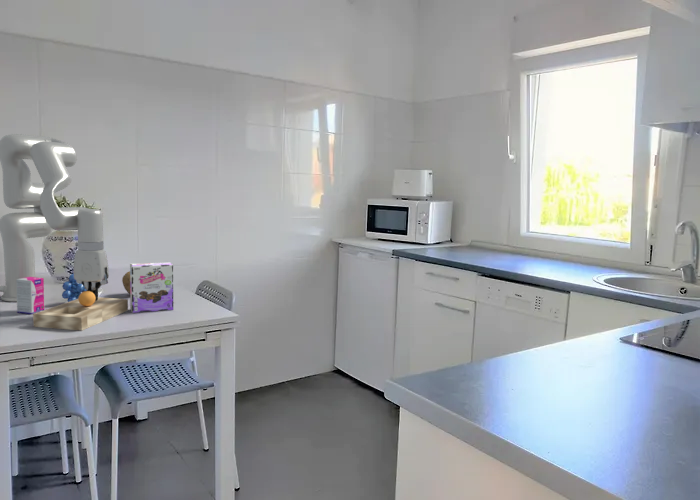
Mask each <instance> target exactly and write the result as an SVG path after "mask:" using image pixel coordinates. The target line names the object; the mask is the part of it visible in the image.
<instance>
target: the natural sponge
mask: <svg viewBox="0 0 700 500" xmlns="http://www.w3.org/2000/svg"><path fill="white" fill-rule="evenodd" d="M121 282H122V285H123V288H124V290H125V291H126V292H127V294H129V295H130V270H129V271H127V272H126V273H125V274H124V275H123V276H122V279H121Z"/></svg>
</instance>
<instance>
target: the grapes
mask: <svg viewBox="0 0 700 500" xmlns="http://www.w3.org/2000/svg"><path fill="white" fill-rule="evenodd" d="M61 287H62V289H63V292H62V293H61V297H62V298H63V299H66V300H67V302H70V301H73V300H76V299H78V298H79V295H80V294H81V293H82V292H84V291H87V290H86V289H85V287H84V286H83V285H82V284H80V283H77V282H76V280H75V279H74V273H72V274H70V275H69V277H68V280H67V281H64V282H63V283H62V286H61Z"/></svg>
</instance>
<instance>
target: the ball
mask: <svg viewBox="0 0 700 500" xmlns="http://www.w3.org/2000/svg"><path fill="white" fill-rule="evenodd" d="M95 299H96V297H95V295H94V293H93V292H91V291H84V292H82V293H81V294H80V295H79V298H78V300H79V303H80V304H81V305H83V306H91V305H92V304H93V303H94V302H95Z"/></svg>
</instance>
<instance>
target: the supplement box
mask: <svg viewBox="0 0 700 500" xmlns="http://www.w3.org/2000/svg"><path fill="white" fill-rule="evenodd" d="M16 281H17V301H16V309H17V310H16V313H18V314H22V315H24V314H25V315H33V314H34V313H37V312H40V311H43V310H45V290H44V289H45V286H44V285H45V283H44V282H45V281H44V277H37V276H35V277H26V278H21V279H17V280H16Z"/></svg>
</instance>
